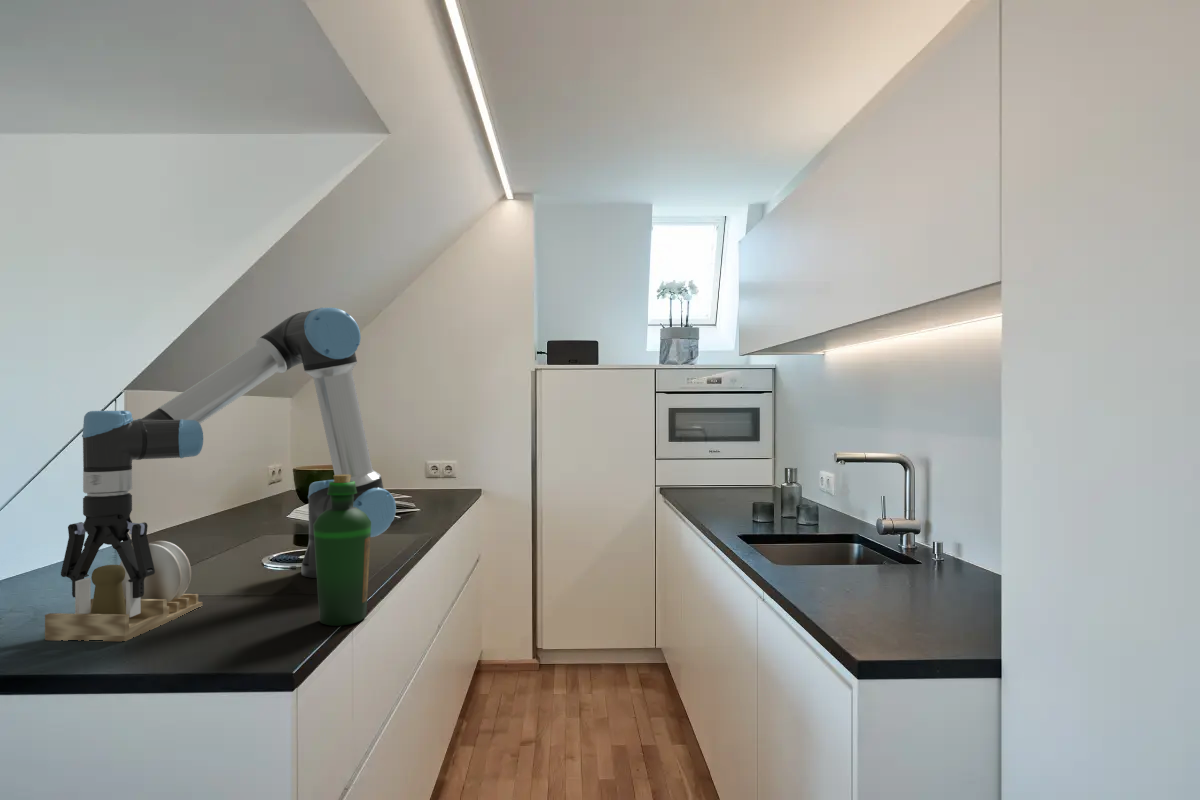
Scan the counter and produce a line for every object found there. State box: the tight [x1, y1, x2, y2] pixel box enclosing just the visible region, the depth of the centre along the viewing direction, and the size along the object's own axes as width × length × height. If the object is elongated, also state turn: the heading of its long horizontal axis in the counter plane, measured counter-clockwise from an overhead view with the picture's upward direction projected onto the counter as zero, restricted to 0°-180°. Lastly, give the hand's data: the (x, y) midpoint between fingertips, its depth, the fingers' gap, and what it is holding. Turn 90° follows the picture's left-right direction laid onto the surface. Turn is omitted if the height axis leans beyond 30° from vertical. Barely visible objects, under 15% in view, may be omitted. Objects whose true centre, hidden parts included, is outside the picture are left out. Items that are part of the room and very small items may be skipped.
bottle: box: [313, 474, 371, 627], centre depth 138 cm, size 11×11×28 cm
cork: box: [90, 564, 126, 614], centre depth 133 cm, size 6×6×11 cm
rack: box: [44, 540, 204, 642], centre depth 138 cm, size 15×22×14 cm
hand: (108, 614), depth 133 cm, fingers open, 9 cm apart
